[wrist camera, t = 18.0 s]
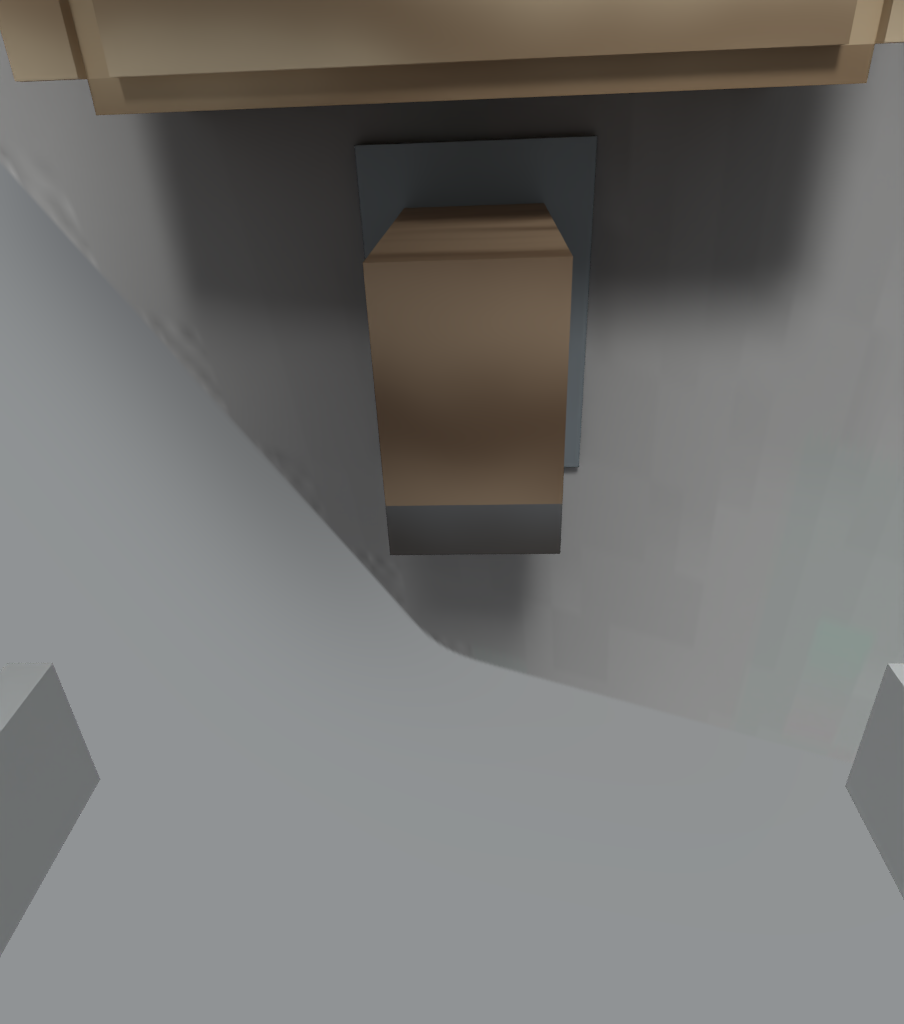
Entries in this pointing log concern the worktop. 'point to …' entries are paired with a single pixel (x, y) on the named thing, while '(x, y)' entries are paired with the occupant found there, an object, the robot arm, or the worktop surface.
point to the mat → (495, 181)
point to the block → (471, 377)
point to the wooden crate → (433, 48)
